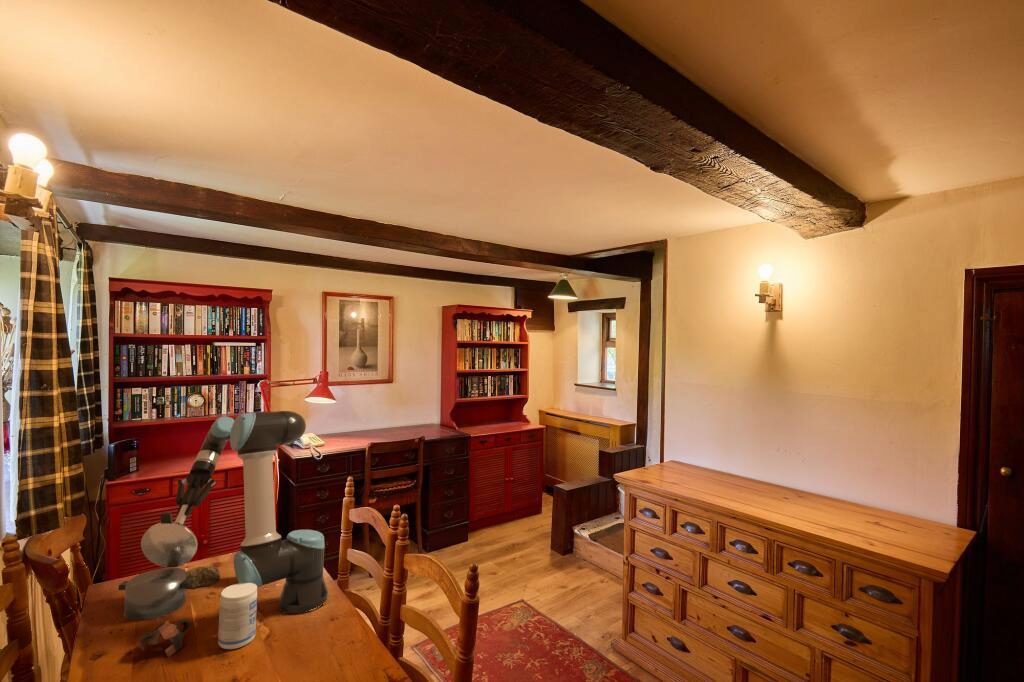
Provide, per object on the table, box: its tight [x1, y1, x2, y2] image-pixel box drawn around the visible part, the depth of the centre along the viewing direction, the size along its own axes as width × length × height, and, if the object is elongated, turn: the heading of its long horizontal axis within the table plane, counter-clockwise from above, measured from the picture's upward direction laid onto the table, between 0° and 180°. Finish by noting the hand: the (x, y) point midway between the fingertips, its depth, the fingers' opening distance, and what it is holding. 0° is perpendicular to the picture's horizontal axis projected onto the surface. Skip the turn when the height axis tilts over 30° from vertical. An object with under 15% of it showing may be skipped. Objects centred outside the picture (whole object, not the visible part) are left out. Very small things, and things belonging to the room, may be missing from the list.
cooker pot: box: [117, 567, 194, 622], centre depth 156 cm, size 17×21×9 cm
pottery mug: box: [138, 618, 191, 658], centre depth 135 cm, size 12×10×8 cm
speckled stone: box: [186, 565, 222, 590], centre depth 174 cm, size 13×12×5 cm
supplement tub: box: [217, 582, 258, 650], centre depth 139 cm, size 10×10×15 cm
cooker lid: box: [140, 512, 198, 568], centre depth 162 cm, size 20×17×1 cm
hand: (178, 524), depth 167 cm, fingers closed
